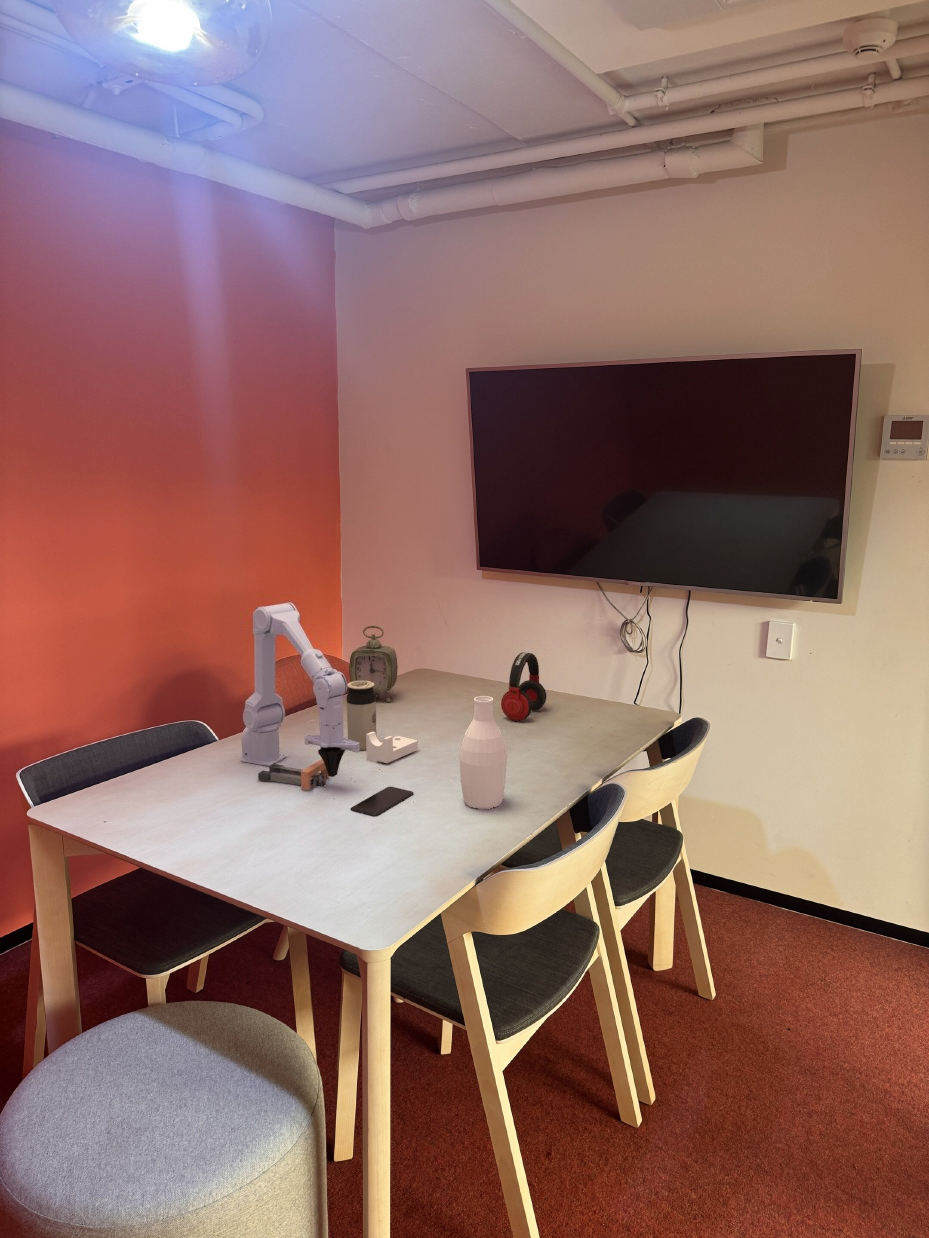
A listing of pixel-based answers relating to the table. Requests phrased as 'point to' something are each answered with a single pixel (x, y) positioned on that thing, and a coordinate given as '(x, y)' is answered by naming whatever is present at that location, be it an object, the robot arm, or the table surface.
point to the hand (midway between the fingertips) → (332, 775)
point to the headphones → (523, 689)
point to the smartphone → (382, 801)
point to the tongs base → (298, 773)
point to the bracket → (388, 748)
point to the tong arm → (281, 777)
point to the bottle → (483, 758)
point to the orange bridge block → (312, 773)
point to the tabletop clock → (374, 665)
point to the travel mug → (361, 711)
